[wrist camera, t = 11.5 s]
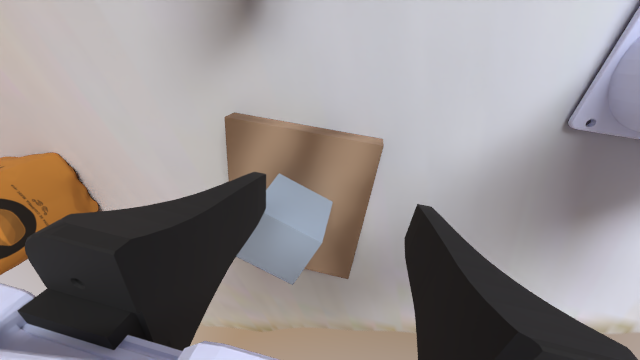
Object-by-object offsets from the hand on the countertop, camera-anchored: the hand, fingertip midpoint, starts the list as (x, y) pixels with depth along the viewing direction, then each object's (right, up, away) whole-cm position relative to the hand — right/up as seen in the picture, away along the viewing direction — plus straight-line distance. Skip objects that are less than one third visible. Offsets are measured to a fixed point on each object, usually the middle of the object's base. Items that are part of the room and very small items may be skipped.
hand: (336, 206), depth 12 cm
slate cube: (-3, -1, +10) cm, 10 cm away
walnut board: (-3, -1, +11) cm, 11 cm away
